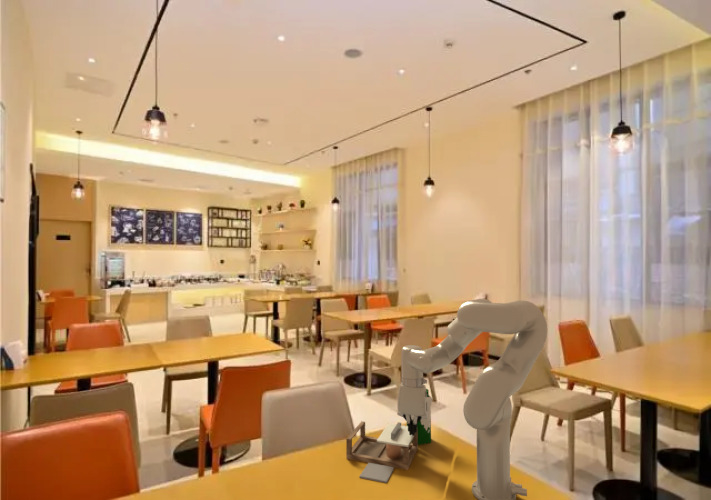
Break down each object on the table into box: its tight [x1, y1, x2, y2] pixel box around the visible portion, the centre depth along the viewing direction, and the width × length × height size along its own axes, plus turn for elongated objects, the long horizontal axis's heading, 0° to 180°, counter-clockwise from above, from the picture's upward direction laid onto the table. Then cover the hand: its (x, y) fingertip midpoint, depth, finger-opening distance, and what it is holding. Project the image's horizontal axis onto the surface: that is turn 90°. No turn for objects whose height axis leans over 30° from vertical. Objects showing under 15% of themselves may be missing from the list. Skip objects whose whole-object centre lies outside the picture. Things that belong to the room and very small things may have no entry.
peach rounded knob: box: [386, 444, 401, 459], centre depth 143 cm, size 6×6×7 cm
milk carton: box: [406, 388, 433, 446], centre depth 155 cm, size 9×9×20 cm
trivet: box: [359, 462, 395, 484], centre depth 131 cm, size 9×9×2 cm
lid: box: [377, 422, 414, 447], centre depth 143 cm, size 11×15×3 cm
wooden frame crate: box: [345, 420, 419, 471], centre depth 145 cm, size 22×16×8 cm
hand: (412, 433), depth 141 cm, fingers closed
